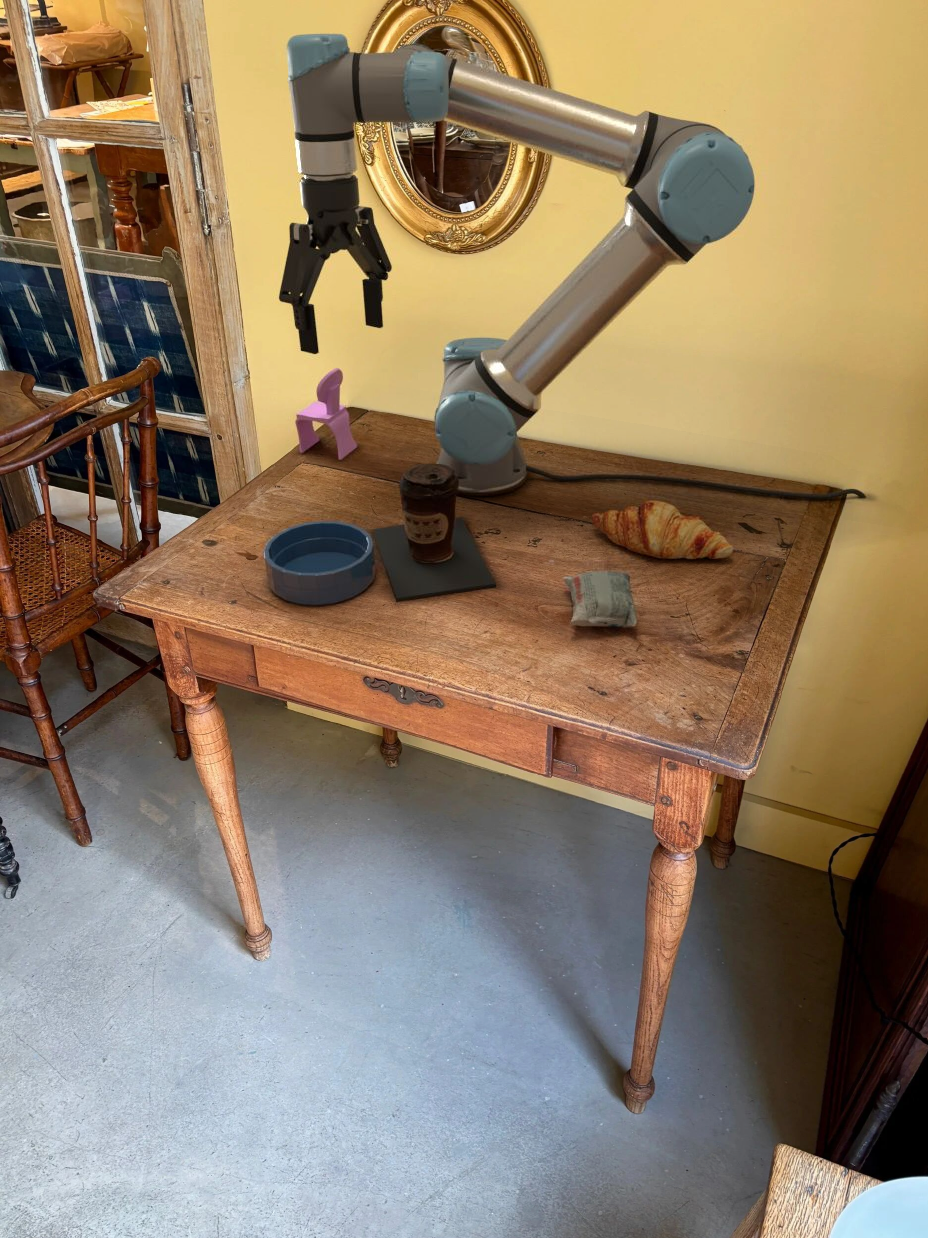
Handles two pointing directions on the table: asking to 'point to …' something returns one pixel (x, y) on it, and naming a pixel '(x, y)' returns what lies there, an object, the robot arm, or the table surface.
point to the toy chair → (326, 416)
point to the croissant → (661, 532)
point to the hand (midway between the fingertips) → (343, 338)
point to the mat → (432, 565)
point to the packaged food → (602, 599)
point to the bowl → (320, 562)
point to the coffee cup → (429, 510)
